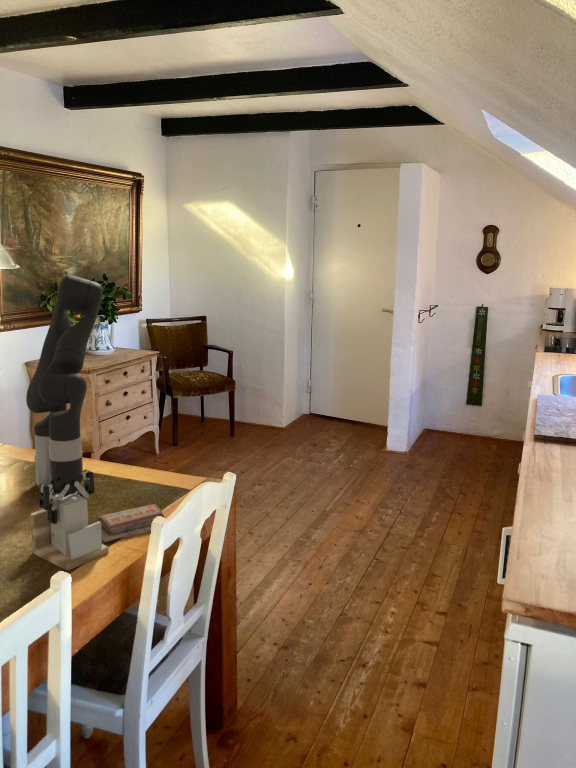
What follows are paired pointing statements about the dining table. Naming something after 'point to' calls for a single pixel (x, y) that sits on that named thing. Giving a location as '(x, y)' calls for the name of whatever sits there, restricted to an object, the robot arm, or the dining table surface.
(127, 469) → the dining table surface
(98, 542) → the grey rectangular panel
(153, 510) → the packaged product
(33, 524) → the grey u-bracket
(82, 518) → the small box
